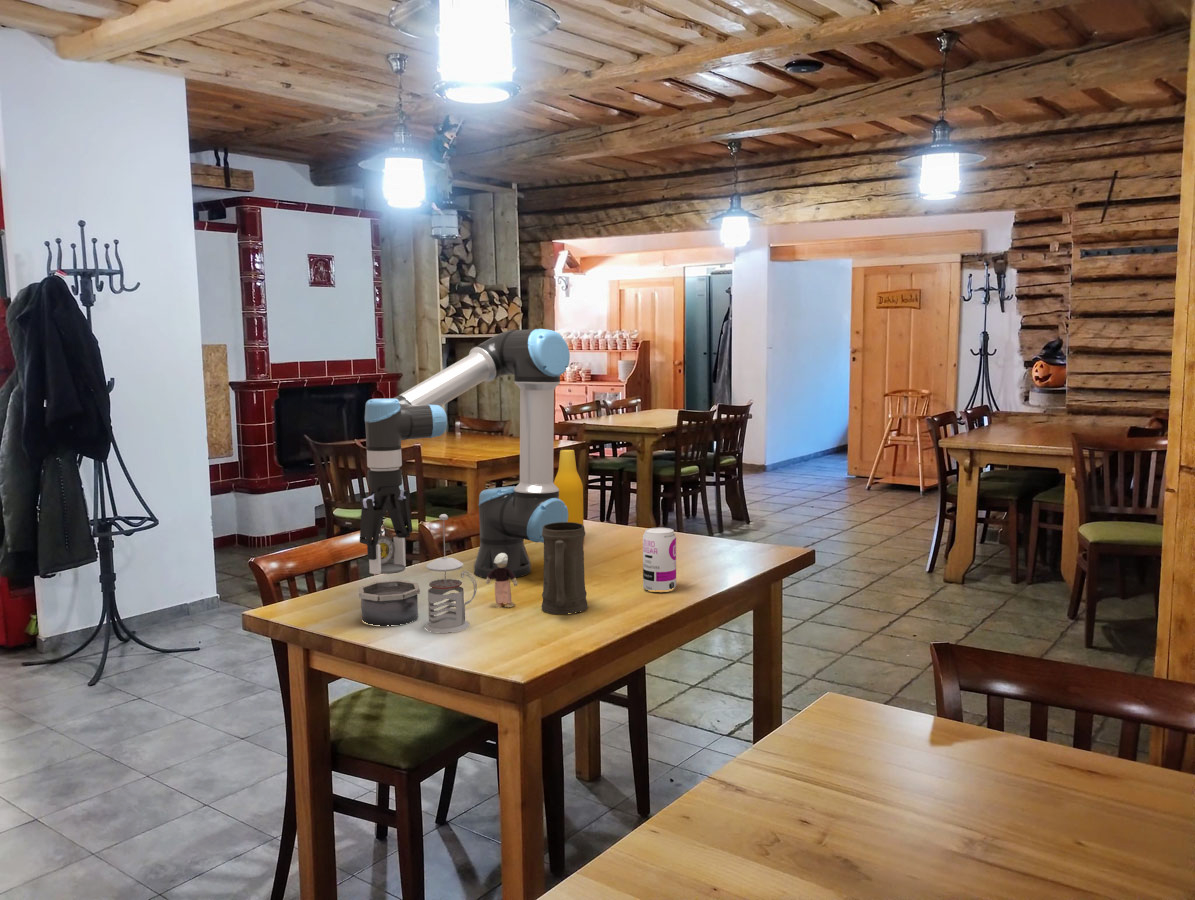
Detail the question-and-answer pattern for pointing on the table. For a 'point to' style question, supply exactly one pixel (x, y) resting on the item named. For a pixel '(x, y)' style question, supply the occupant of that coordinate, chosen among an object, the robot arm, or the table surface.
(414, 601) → the grey octagonal rimmed bowl
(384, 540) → the pocket watch
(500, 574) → the grandmother figurine
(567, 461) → the beer bottle
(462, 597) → the french press
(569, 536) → the beer stein
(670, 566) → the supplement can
